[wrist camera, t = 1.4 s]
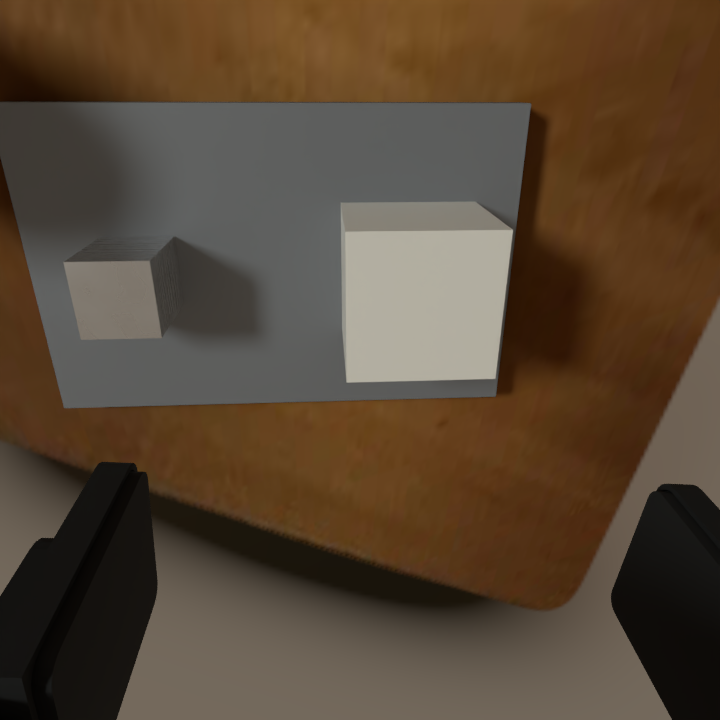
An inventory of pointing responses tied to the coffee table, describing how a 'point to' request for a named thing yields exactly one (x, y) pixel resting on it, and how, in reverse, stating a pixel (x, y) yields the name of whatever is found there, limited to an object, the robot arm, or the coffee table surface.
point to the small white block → (125, 287)
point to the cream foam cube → (422, 290)
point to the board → (240, 231)
